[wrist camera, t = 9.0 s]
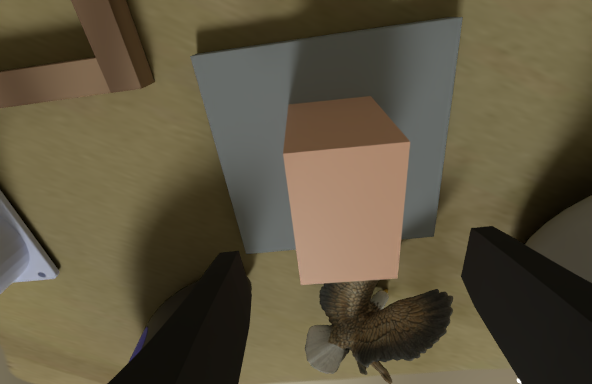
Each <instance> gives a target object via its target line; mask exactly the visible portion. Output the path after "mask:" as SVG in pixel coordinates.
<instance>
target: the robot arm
mask: <svg viewBox="0 0 592 384" xmlns="http://www.w3.org/2000/svg"><path fill="white" fill-rule="evenodd" d="M58 275H59V270H58V269H57V267H56V266H55V264H54V263H53V262H52V260H51V259H50V258H49V256H48V255H47V254H46V252H45V251H44V249H43V248H42V247H41V245H40V244H39V243H38V241H37V240H36V238H35V237H34V236H33V234H32V233H31V232H30V230H29V229H28V227H27V226H26V225H25V223H24V222H23V221H22V219H21V218H20V216H19V215H18V214H17V212H16V211H15V210H14V208H13V207H12V205H11V204H10V203H9V201H8V200H7V199H6V197H5V196H4V194H3V193H2V192H1V190H0V294H1V293H2V292H3V291H4V290H5V289H6V288H7V287H8V286H9V285H10V284H12V283H13V282H24V281H35V280H45V279H54V278H56V277H57V276H58ZM461 277H462V280H463V282H464V284H465V287H466V289H467V291H468V293H469V296H470V298H471V300H472V302H473V304H474V306H475V308H476V310H477V311H478V313H479V315H480V317H481V318H482V320H483V321H484V323H485V325H486V326H487V328H488V330H489V331H490V333H491V335H492V336H493V338H494V339H495V341H496V343H497V344H498V346H499V348H500V349H501V351H502V352H503V354H504V356H505V357H506V359H507V360H508V362H509V364H510V365H511V367H512V369H513V370H514V372H515V373H516V375H517V377H518V378H519V380H520V381H521V383H522V384H592V283H591V282H589V281H587V280H585V279H584V278H582V277H580V276H578V275H576V274H575V273H573V272H571V271H569V270H567V269H566V268H564V267H562V266H560V265H559V264H557V263H555V262H554V261H552V260H550V259H548V258H547V257H545V256H543V255H542V254H540V253H538V252H536V251H535V250H533V249H531V248H530V247H528V246H526V245H525V244H523V243H521V242H519V241H518V240H516V239H514V238H513V237H511V236H509V235H507V234H506V233H504V232H502V231H500V230H498V229H497V228H495V227H493V226H489V227H478V228H471V231H470V236H469V241H468V246H467V251H466V256H465V260H464V265H463V270H462V275H461ZM251 297H252V294H251V291H250V288H249V284H248V281H247V277H246V274H245V271H244V267H243V264H242V261H241V257H240V254H239V251H233V252H223V253H219V255H218V256H217V257H216V258H215V260H214V261H213V262H212V264H211V265H210V266H209V268H208V269H207V270H206V272H205V273H204V274H203V276H202V277H201V278H200V280H199V281H198V282H197V284H196V285H195V286H194V288H193V289H192V290H191V291H190V293H189V294H188V295H187V297H186V298H185V299H184V300H183V302H182V303H181V304H180V305H179V307H178V308H177V309H176V310H175V312H174V313H173V314H172V315H171V316H170V318H169V319H168V320H167V321H166V322H165V323H164V324H163V326H162V327H161V328H160V329H159V330H158V331H157V333H156V334H155V335H154V336H153V337H152V338H151V340H150V341H149V342H148V343H147V344H146V345H145V346H144V347H143V348H142V349H141V350H140V351H139V353H138V354H137V355H136V356H135V357H134V358H133V359H132V360H131V361H130V362H129V363H128V364H127V365H126V366H125V367H124V368H123V369H122V370H121V371H120V372H119V373H118V374H117V375H116V376H115V377H114V378H113V379H112V380H111V381H110V382H109V383H108V384H238V382H239V377H240V372H241V367H242V362H243V357H244V352H245V346H246V341H247V336H248V330H249V324H250V312H251Z"/></svg>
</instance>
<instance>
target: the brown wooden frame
mask: <svg viewBox="0 0 592 384" xmlns="http://www.w3.org/2000/svg"><path fill="white" fill-rule="evenodd" d="M71 1H72V4H73V6H74V8H75V11H76V13H77V15H78V18H79V20H80V22H81V25H82V27H83V29H84V32H85V34H86V36H87V39H88V41H89V43H90V46H91V48H92V50H93V53H94V55H95V57H91V58H85V59H78V60H71V61H64V62H57V63H51V64H44V65H37V66H30V67H24V68H17V69H10V70H3V71H0V108H4V107H12V106H19V105H26V104H33V103H41V102H48V101H55V100H62V99H70V98H77V97H84V96H91V95H99V94H106V93H113V92H120V91H128V90H135V89H142V88H144V87H146V86H148V85H150V84H152V83H154V82H155V81H154V79H153V76H152V73H151V70H150V67H149V64H148V62H147V59H146V56H145V53H144V50H143V47H142V44H141V42H140V39H139V36H138V33H137V30H136V27H135V25H134V22H133V19H132V16H131V13H130V10H129V8H128V5H127V2H126V0H71Z"/></svg>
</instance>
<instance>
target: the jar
mask: <svg viewBox="0 0 592 384" xmlns="http://www.w3.org/2000/svg"><path fill="white" fill-rule="evenodd" d="M525 245H526V246H528V247H530V248H531V249H533V250H535V251H536V252H538V253H540V254H542V255H543V256H545V257H547V258H548V259H550V260H552V261H554V262H555V263H557V264H559V265H560V266H562V267H564V268H566V269H567V270H569V271H571V272H573V273H575V274H576V275H578V276H580V277H582V278H584V279H585V280H587V281H589V282H591V283H592V195H591V196H589V197H587V198H585V199H584V200H582V201H580V202H578V203H576V204H574V205H573V206H571V207H569V208H567V209H565V210H564V211H562V212H561V213H560V214H558V215H557V216H555V217H554V218H552V219H551V220H550V221H548V222H547V223H545V224H544V225H543V226H542V227H541V228H540V229H539V230H538V231H537V232H536V233H534V234H533V235H532V236H531V237H530V238H529V240H528V241H527V242H526V244H525ZM517 382H518V383H521V381H520V380H519V379H517Z"/></svg>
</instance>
